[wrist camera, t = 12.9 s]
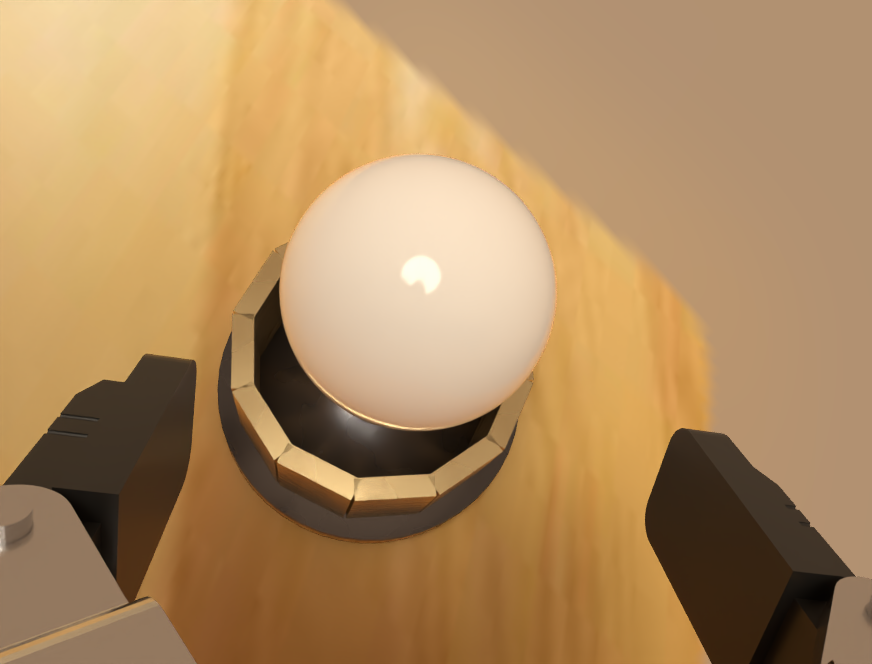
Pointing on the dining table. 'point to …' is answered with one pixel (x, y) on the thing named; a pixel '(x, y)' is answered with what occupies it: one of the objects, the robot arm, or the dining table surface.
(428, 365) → the lightbulb
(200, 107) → the dining table surface
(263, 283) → the bulb holder
